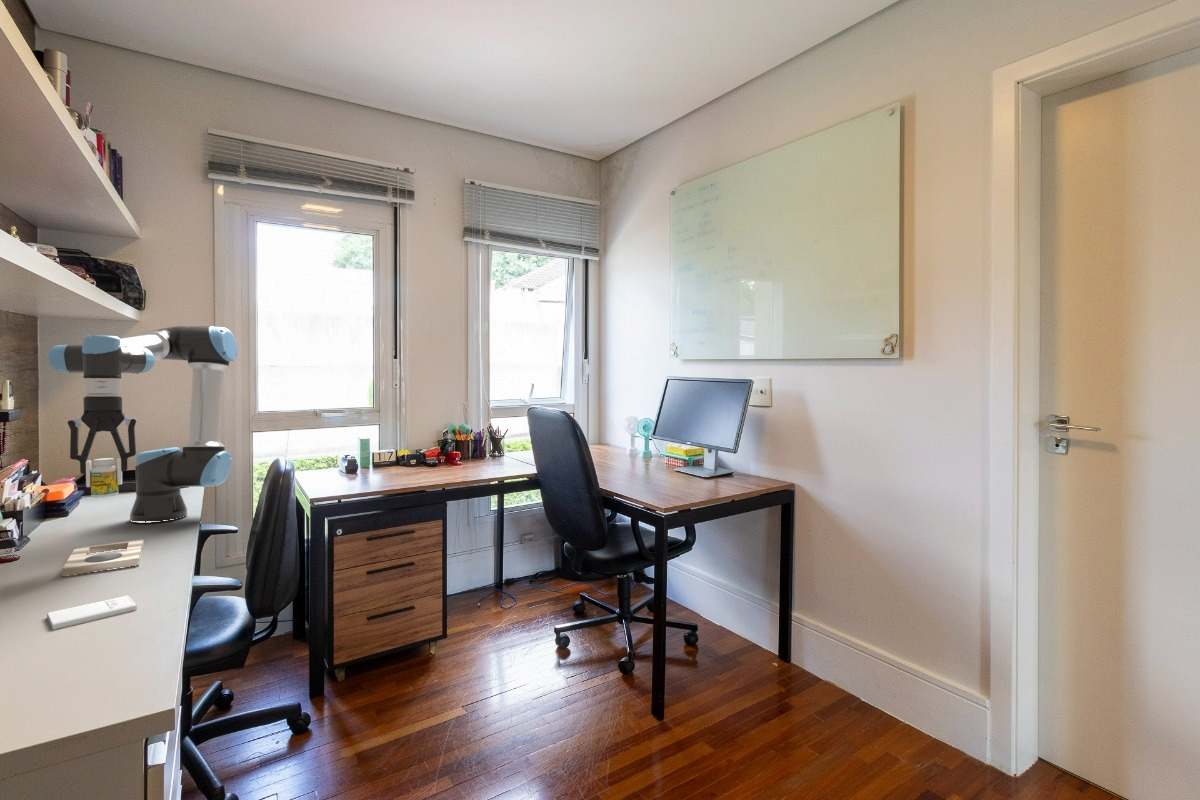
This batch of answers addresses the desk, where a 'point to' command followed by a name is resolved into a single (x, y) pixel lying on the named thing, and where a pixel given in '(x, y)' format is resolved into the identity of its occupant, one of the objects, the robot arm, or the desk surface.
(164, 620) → the desk surface
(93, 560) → the puzzle board
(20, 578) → the desk surface
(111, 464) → the supplement bottle
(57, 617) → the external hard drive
